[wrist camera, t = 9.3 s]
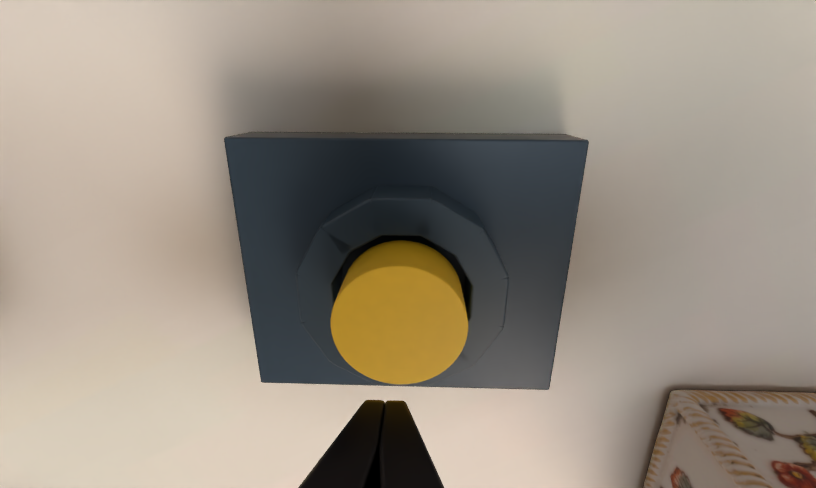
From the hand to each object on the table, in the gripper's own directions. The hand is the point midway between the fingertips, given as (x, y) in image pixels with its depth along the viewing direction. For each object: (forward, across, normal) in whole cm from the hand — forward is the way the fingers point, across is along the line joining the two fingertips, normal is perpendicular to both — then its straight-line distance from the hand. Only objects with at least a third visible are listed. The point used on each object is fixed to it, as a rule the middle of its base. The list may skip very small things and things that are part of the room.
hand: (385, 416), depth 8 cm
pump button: (+5, 0, 0) cm, 5 cm away
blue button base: (+9, 0, 0) cm, 9 cm away
